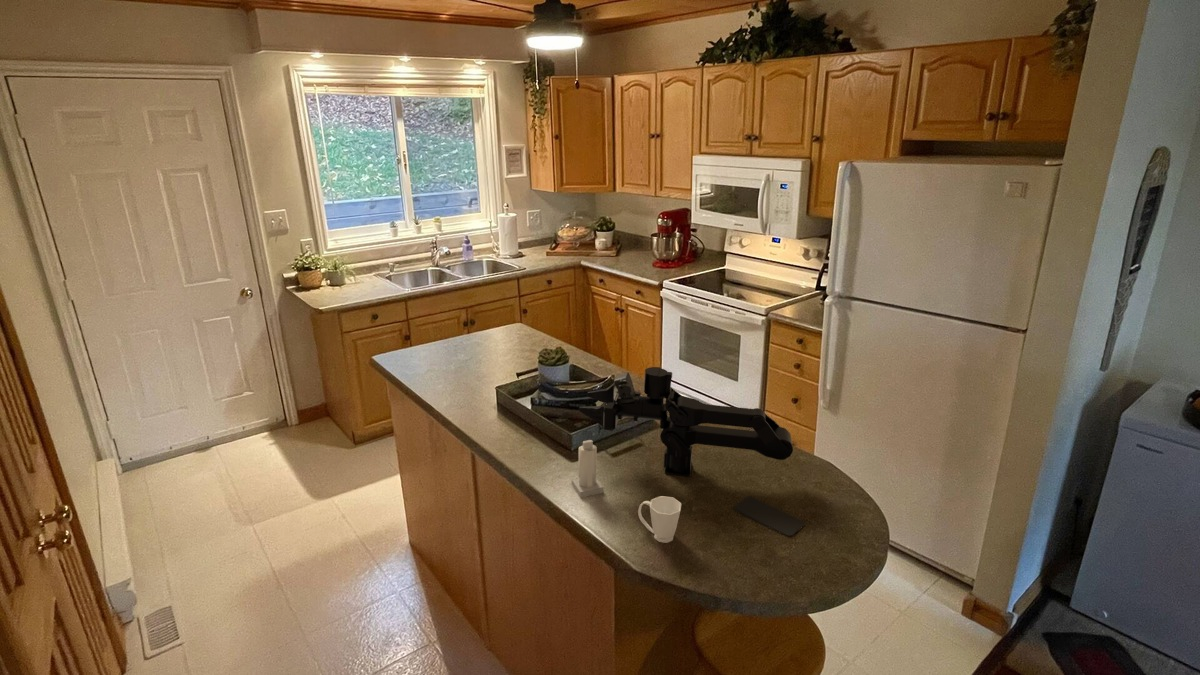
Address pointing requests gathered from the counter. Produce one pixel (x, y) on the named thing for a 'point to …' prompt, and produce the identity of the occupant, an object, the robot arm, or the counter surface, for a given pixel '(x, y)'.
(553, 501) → the counter surface
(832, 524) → the counter surface
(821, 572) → the counter surface
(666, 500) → the cup
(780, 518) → the phone
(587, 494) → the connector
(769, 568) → the counter surface
